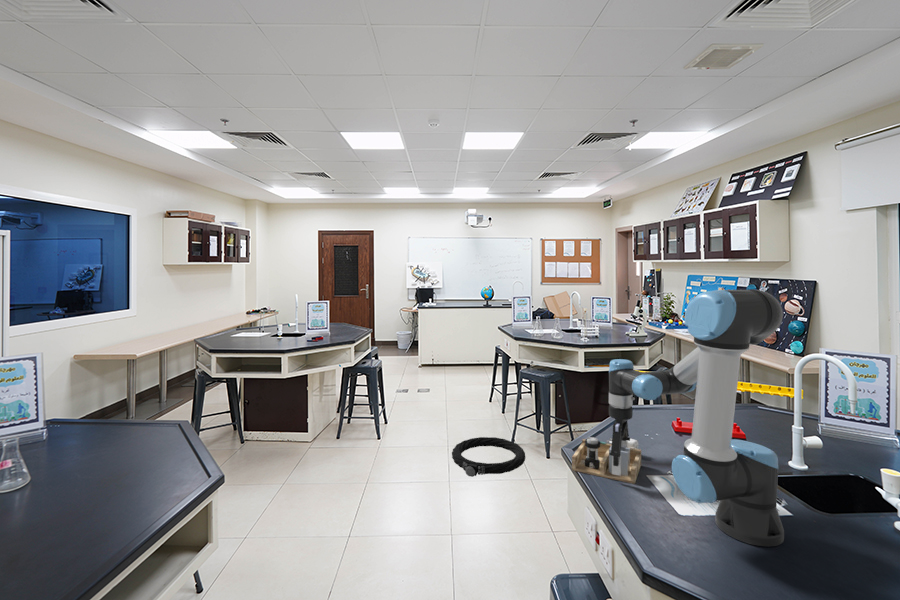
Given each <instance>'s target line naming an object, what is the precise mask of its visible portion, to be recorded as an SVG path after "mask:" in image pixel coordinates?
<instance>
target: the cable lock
mask: <svg viewBox="0 0 900 600" xmlns="http://www.w3.org/2000/svg"><path fill="white" fill-rule="evenodd" d="M479 447H495V448H502V449H504V450H507V451H510V452H511V453H513V454H514V455H515V456H514V457H513V458H512V459H509V460H506V461H503V462H495V463H494V462H493V463H491V462H490V463H487V462H486V463H485V462H477V461H473V460H470V459H468V458H466V457H464V456H463V455H462V454H463V453H464V452H465V451H468V450H469V449H473V448H479ZM451 458H452V459H453V463H455V465H457V466H459V468H461V469H463V471H464V473H465V474H466V475H467V476H468V477H470V478H471V477H477V475H478V476H479V475H481V476H482V475H500V474H505V473H510V472H513V471H514V470H516V469H519V468H520V467H521V466H522V465H523V464H524V462H525V461H526V452H525V450H524V448H522V447H521V446H520V445H519V444H518V443H516V442H513V441H510V440H508V439H505V438H500V437H493V436H492V437H487V436H486V437H485V436H483V437H482V436H480V437H474V438H469V439H465V440H463V441H461V442H459V443H457V444H456V445H455V446H454V448H452V452H451Z"/></svg>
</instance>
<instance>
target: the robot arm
mask: <svg viewBox="0 0 900 600" xmlns="http://www.w3.org/2000/svg"><path fill="white" fill-rule="evenodd" d="M781 305H782V304H781V303H780V302H779V300H778V299H777V298H776V297H775V296H774V295H773V294H770V293H768V292H767V291H764V290H761V289H750V288H749V289H714V290H707V291H703V292H701V293H699V294H697V295H696V296H695V297H693V298H692V299H691V300H690V301H689V303H688V304H687V307H686V310H685V312H684V323H685V327H687V331H688V333H689V334H690V335H691V336H692V337H693V343H694V345H696V347H695V348H694V349H693V350H692V351H691V352H689V353H688V354H687V355H685V356H684V357H683V358H682V359H681V360H680V361H678V362H677V363H676V364H675V365H674V366H672V367H671V368H670V369H666V370H665V369H664V370H658V371H657V370H656V371H643V372H642V371H639V370H636V369H635V368H634V363H633V361H631V360H630V359H623V358H619V359H618V358H617V359H611V360H610V362H609V367H608V368H609V370H608V404H609V405H608V416H609V417H610V418H612V419H614V421H613V423H612V437H611V439H612V443H611V444H612V446H611V453H610V452H609V455H611V456H612V474H614V475H619V476H621V456H620V455H621V454H620V453H621V445H626V448H628V441H630V438H631V437H629V436H630V434H629V424H628V420H632V418H633V413H634V412H633V404H634V403H633V401H635V399H636V398H635V397H633V396H636V397H638V398H640V399H643V400H647V401H654V400H655V401H656V400H657V398H660V396H666V395H674V394H675V395H677V394H681V395H682V394H687V393H691V392H693V391H694V390H695V399H694V408H693V409H694V410H693V420H692V428H691V429H692V430H691V437H690V438H688V439H686V440H685V441H684V443H683V445H684V446H683V453H682V454H678V455H677V456H676V457H674V458H673V459H672V462H671V473H672V475H673V476H672V477H673V479H674V482H675V483H676V485H677V487H678V489H679V490H680V491H681V493H682V494H683V495H684V496H685V497H686V498H687V499H689V500H691V501H692V502H695V503H697V504H705V503H706V504H707V503H708V504H714V503H715V502H719V501H720V502H719V504H718V506H717V508H716V511H715V512H714V513H715V515H714V519H715V520H714V521H715V524H716V526H717V527H718V529H719V530H720V531H722V532H723V533H724V534H726V535H727V536H730V537H731V538H732V539H735V540H737V541H740V542H743V543H745V544H749V545H753V546H758V547H767V548H770V547H778V546H781V544H783V543H784V541H785V530H784V529H785V528H784V527H783V526H784V525H783V524H782V520H781V517H780V515H779V512H778V509H777V502H778V501H777V500H778V479H779V478H778V477H779V470H780V467H779V459H778V458H779V457H778V455H777V454H776V453H775V451H773V449H771V448H768V447H766V446H764V445H762V444H759V443H755V442H751V441H747V440H742V439H736V438H734V439H733V430H734V429H733V428H734V421H735V420H734V419H735V412H736V411H735V409H736V401H737V394H738V393H737V392H738V382H739V373H740V365H741V355H742V354H744V353H746V352H747V351H748V350H749V349H750V345H751V346H755V345H756V346H757V345H758V344H760V343H762V342H763V341H765V340H766V339H768V337H770V336H771V335H773V334H774V333H775V332H776V331H778V328H779V327H780V326H781V324H782V321H783V316H784V311H783V308H782V306H781ZM626 440H627V441H626Z"/></svg>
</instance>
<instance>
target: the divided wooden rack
mask: <svg viewBox="0 0 900 600" xmlns="http://www.w3.org/2000/svg"><path fill="white" fill-rule="evenodd" d="M585 440H587V438H586V439H585V438H582V439H581V444H580V445H579V446H578V448H577V449H576V450H575V452H574V454H573V455H572V456H571V471H574V472H579V473H583V474H588V475H592V476H596V477H601V478H606V479H609V480H610V479H611V480H615V481H618V482H619V481H620V482H623V483H628V484H632V485H636V481H637V478H638V475H639V472H640V470H641V466H642V449H639V448H638V449H635V448H634V447H628V448H630V471H629V474H628V476H624V475H621V476H619V475H614V474H612V473H610V472H609V449H610V447H611V445H612V443H609V442H607V441H606V442H605V441H600V440H599V441H600V442H601V444H600V447H599V448H598V458H599V460H600V467H599V469H598V470H597V469H595V468H590V467H586V466H585V464H581V462H582V463H585V462H583V461H581V460H585V459H586V456H587V447H586V446H585ZM589 453H590V452H589ZM595 453H596V449H595Z"/></svg>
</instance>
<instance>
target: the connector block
mask: <svg viewBox="0 0 900 600" xmlns="http://www.w3.org/2000/svg"><path fill="white" fill-rule="evenodd" d="M611 446H612V445H611ZM609 452H610V453H611V447H610V449H609ZM620 454H621V455H620V456H621V475H624V476H628V474H629V471H630V448H626V445H621V453H620ZM609 472H610V473H612V456H611V455H609Z"/></svg>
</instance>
